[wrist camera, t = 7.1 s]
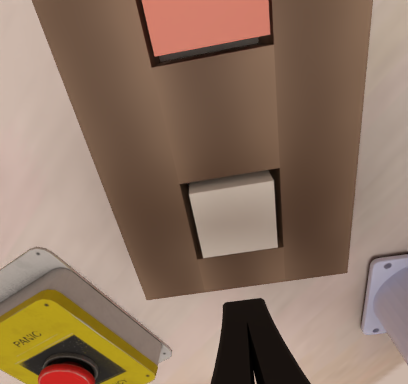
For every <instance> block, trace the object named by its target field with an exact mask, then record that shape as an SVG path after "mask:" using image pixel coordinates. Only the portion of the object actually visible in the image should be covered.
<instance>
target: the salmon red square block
mask: <svg viewBox="0 0 408 384" xmlns="http://www.w3.org/2000/svg"><path fill="white" fill-rule="evenodd" d="M142 4H143V8H144V13H145V17H146V21H147V26H148V30H149V34H150V39H151V43H152V47H153V52H154V56H161V55H166V54H171V53H176V52H181V51H187V50H192V49H197V48H202V47H207V46H213V45H218V44H223V43H228V42H233V41H239V40H244V39H249V38H254V37H259V36H265V35H270V20H269V1H268V0H142Z"/></svg>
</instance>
